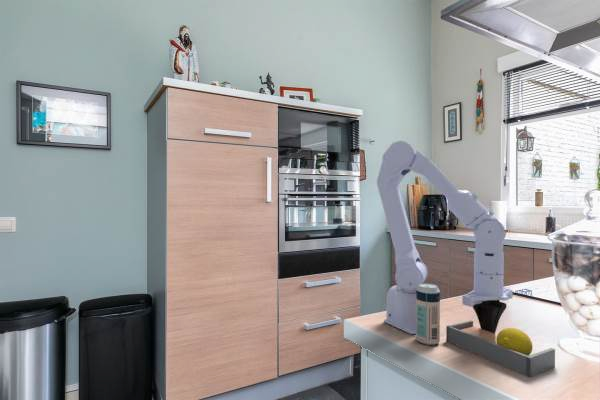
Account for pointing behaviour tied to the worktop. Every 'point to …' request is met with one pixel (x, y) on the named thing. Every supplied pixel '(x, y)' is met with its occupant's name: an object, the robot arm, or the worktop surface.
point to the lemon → (515, 340)
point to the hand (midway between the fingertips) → (488, 334)
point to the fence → (500, 351)
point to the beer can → (428, 314)
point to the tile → (480, 333)
